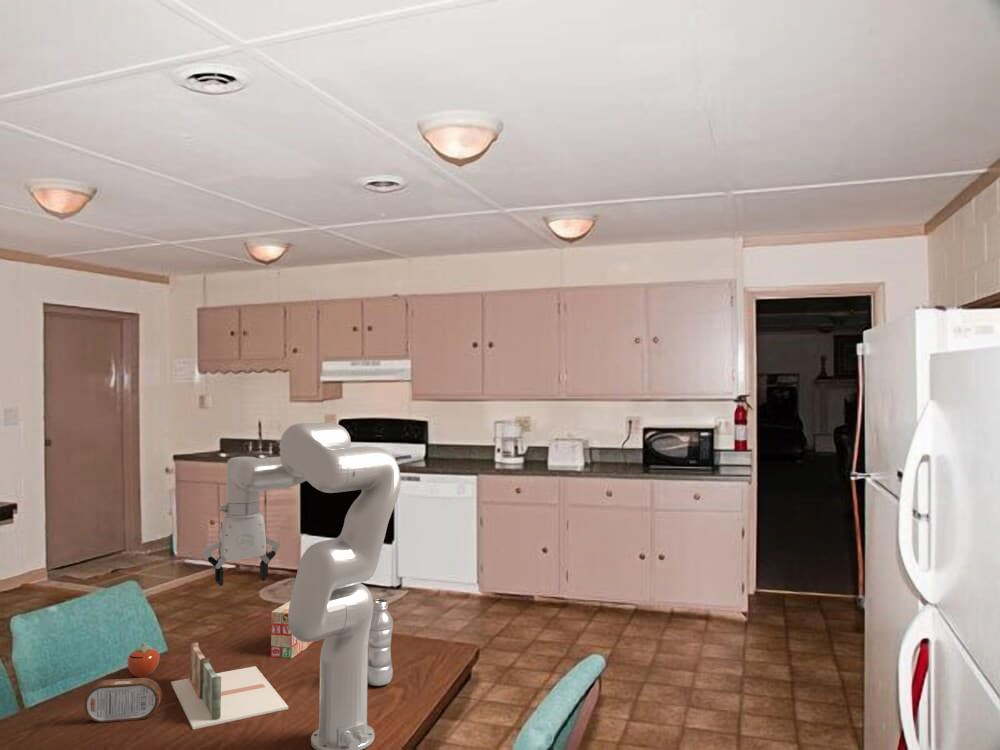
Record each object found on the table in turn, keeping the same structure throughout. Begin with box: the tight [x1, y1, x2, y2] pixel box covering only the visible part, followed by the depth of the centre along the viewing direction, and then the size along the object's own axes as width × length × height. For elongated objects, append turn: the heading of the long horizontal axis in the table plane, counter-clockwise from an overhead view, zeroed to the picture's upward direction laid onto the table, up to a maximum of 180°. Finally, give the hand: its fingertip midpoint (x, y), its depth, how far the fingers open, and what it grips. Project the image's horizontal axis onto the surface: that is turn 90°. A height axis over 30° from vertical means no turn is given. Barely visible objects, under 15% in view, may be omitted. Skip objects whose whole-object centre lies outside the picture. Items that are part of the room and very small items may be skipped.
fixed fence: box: [189, 641, 211, 699], centre depth 177 cm, size 15×2×9 cm, turn 32°
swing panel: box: [203, 663, 221, 719], centre depth 165 cm, size 12×2×8 cm, turn 32°
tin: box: [83, 677, 163, 723], centre depth 161 cm, size 15×3×8 cm, turn 102°
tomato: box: [126, 642, 161, 678], centre depth 186 cm, size 7×7×8 cm
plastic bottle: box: [367, 598, 394, 687], centre depth 181 cm, size 6×7×20 cm
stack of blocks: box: [270, 600, 316, 659], centre depth 209 cm, size 21×6×12 cm, turn 168°
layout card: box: [170, 665, 289, 730], centre depth 173 cm, size 29×20×1 cm
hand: (241, 582), depth 176 cm, fingers open, 9 cm apart
